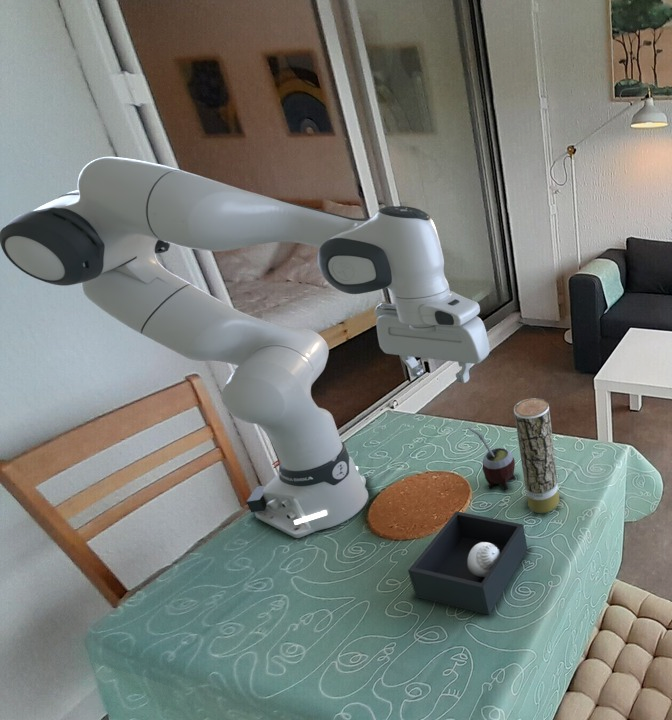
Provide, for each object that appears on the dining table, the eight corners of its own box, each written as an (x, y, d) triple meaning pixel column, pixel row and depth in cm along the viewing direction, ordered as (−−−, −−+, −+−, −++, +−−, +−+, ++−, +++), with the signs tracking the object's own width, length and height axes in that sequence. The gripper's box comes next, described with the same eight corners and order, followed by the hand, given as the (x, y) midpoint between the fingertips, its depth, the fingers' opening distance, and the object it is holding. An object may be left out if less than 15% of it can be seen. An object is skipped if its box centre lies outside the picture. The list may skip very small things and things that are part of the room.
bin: (415, 597, 89) (407, 570, 86) (462, 536, 102) (456, 511, 98) (489, 615, 86) (483, 587, 82) (527, 550, 98) (523, 524, 95)
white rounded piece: (476, 541, 95) (494, 528, 91) (497, 565, 95) (516, 553, 91) (452, 564, 90) (471, 551, 86) (475, 590, 90) (494, 578, 86)
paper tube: (553, 517, 106) (541, 418, 95) (523, 512, 107) (507, 414, 96) (563, 495, 112) (553, 399, 101) (535, 491, 113) (522, 396, 102)
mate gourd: (521, 484, 115) (513, 430, 109) (488, 498, 111) (477, 443, 105) (509, 468, 121) (501, 415, 114) (477, 480, 117) (466, 427, 110)
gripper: (359, 308, 84) (380, 380, 90) (467, 317, 79) (480, 393, 85) (385, 295, 89) (403, 364, 96) (487, 304, 85) (499, 376, 91)
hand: (440, 378), depth 90 cm, fingers open, 8 cm apart
